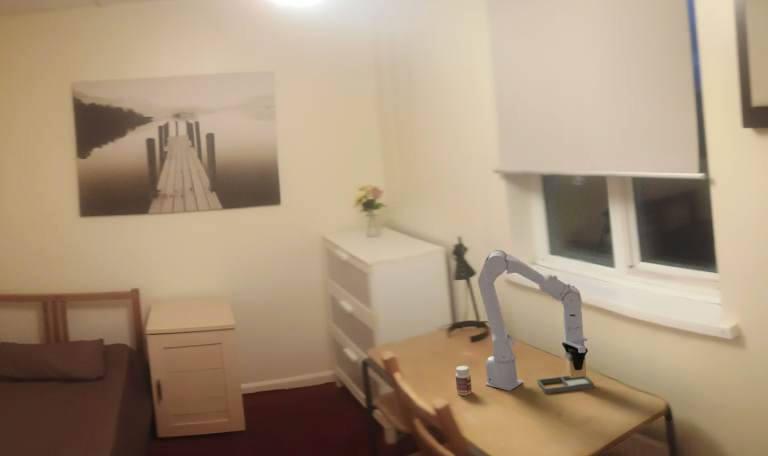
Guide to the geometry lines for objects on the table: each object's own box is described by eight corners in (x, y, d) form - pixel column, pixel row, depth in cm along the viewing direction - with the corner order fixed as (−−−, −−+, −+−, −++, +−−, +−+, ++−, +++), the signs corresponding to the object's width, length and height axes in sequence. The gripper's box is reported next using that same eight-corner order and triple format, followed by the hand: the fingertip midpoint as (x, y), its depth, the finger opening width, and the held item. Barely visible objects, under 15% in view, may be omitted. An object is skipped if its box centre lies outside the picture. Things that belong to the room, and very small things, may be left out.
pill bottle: (471, 395, 205) (469, 370, 204) (456, 395, 206) (454, 371, 204) (472, 389, 209) (470, 364, 208) (457, 389, 210) (455, 365, 209)
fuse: (570, 378, 202) (569, 356, 201) (566, 373, 206) (565, 352, 205) (586, 376, 202) (585, 355, 201) (581, 371, 206) (580, 350, 205)
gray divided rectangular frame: (545, 393, 200) (544, 389, 200) (537, 383, 208) (537, 379, 208) (593, 387, 201) (593, 383, 200) (584, 378, 209) (584, 373, 208)
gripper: (594, 331, 195) (596, 373, 197) (577, 317, 209) (580, 357, 211) (571, 334, 194) (574, 376, 196) (556, 320, 209) (558, 360, 211)
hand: (575, 366), depth 204 cm, fingers closed on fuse, 4 cm apart
